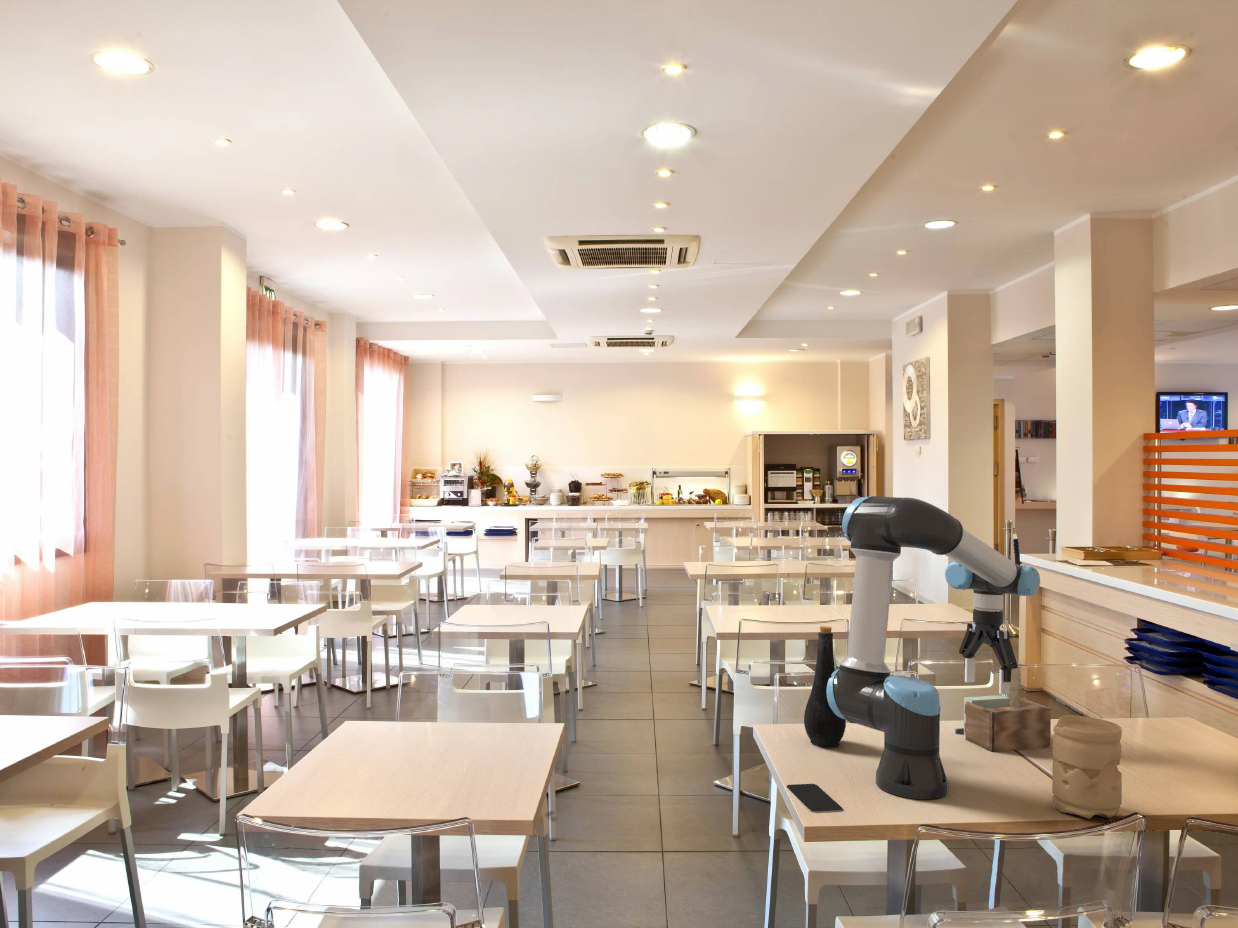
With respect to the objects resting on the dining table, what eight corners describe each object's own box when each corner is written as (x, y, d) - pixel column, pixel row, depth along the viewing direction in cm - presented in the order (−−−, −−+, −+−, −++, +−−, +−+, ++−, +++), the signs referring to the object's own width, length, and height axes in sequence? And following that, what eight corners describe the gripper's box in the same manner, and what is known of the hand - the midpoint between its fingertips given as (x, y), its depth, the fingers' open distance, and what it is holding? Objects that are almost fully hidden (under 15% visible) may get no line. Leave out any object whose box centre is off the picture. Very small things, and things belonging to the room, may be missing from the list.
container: (1056, 816, 168) (1057, 728, 168) (1048, 795, 179) (1048, 712, 180) (1127, 826, 163) (1127, 735, 164) (1114, 803, 175) (1114, 719, 175)
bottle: (850, 741, 215) (852, 626, 215) (838, 752, 206) (839, 632, 206) (811, 734, 220) (812, 622, 221) (797, 744, 212) (799, 627, 212)
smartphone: (815, 783, 184) (844, 809, 169) (815, 786, 184) (844, 812, 169) (784, 784, 183) (811, 811, 168) (784, 787, 183) (811, 814, 168)
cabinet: (991, 751, 208) (991, 711, 209) (952, 733, 223) (952, 696, 224) (1050, 746, 213) (1050, 707, 213) (1007, 729, 228) (1008, 692, 228)
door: (971, 737, 220) (971, 700, 220) (963, 734, 223) (963, 697, 223) (1009, 734, 223) (1009, 697, 223) (1001, 731, 226) (1001, 694, 226)
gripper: (1033, 616, 213) (1032, 698, 212) (969, 602, 237) (967, 676, 236) (1009, 616, 211) (1007, 699, 210) (946, 602, 235) (945, 677, 234)
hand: (986, 687), depth 223 cm, fingers open, 13 cm apart
